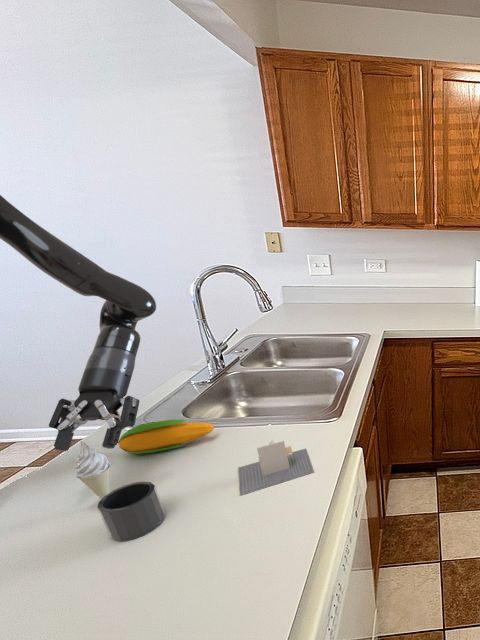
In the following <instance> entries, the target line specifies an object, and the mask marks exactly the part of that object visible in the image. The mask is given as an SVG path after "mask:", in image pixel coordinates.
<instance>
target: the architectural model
mask: <svg viewBox="0 0 480 640" xmlns="http://www.w3.org/2000/svg"><path fill="white" fill-rule="evenodd" d="M256 450H257V455H258V461H257V462H252V463H249V464H246V465H242V466H238V467H237V470H238V483H239V496H243V495H248V494H249V493H253V492H256V491H259V490H262V489H265V488H269V487H272V486H275V485H278V484H282V483H285V482H288V481H291V480H294V479H298V478H300V477H304V476H307V475H310V474H313V473H315V470H314V467H313V465H312V464H313V463H312V461H311V458H310V456H309V453H308V450H307V448H302V449H299V450H295V451H293V450H292V445H289V446H286V445H285V440H281V441H278V442H274V439H272V440H271V441H270V442H269V443H268V444H266V445H263V446H260V447H257V448H256Z"/></svg>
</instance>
